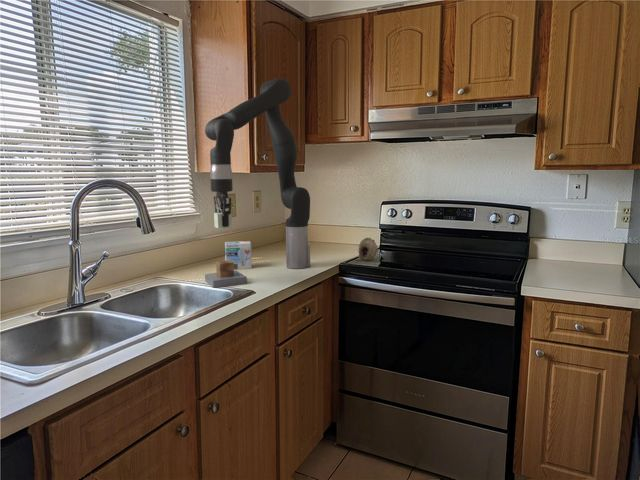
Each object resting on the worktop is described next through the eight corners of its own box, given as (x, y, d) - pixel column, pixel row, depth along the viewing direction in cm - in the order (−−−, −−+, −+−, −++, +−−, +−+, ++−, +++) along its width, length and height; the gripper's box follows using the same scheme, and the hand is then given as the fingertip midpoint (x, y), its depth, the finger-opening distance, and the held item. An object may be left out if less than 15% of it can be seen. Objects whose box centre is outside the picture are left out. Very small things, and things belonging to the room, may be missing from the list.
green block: (228, 226, 164) (227, 212, 164) (232, 227, 160) (231, 213, 159) (214, 226, 162) (213, 213, 161) (218, 228, 158) (217, 214, 157)
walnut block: (229, 273, 167) (229, 260, 166) (234, 275, 163) (233, 262, 162) (216, 274, 165) (216, 261, 164) (220, 277, 160) (219, 263, 160)
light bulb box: (226, 270, 184) (225, 244, 183) (225, 267, 191) (224, 241, 189) (252, 268, 187) (251, 242, 185) (250, 265, 193) (249, 240, 192)
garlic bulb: (357, 257, 208) (357, 236, 207) (376, 257, 208) (376, 236, 206) (358, 261, 199) (358, 239, 197) (378, 261, 198) (378, 239, 197)
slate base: (236, 276, 172) (236, 270, 172) (246, 283, 162) (246, 276, 161) (205, 280, 167) (204, 274, 166) (213, 287, 156) (213, 280, 156)
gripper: (238, 177, 154) (239, 227, 156) (225, 177, 166) (227, 223, 169) (216, 178, 150) (218, 228, 153) (205, 177, 163) (207, 224, 166)
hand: (223, 225), depth 161 cm, fingers closed on green block, 5 cm apart
